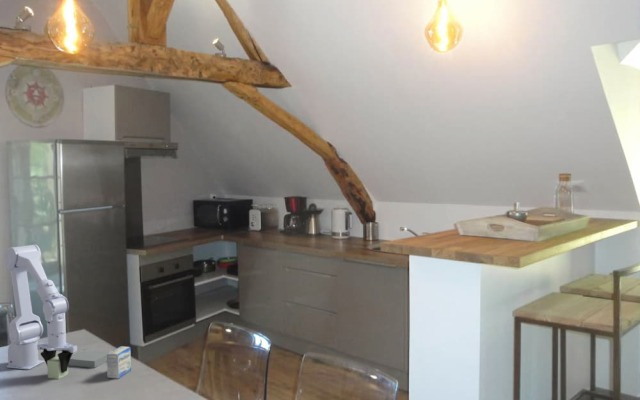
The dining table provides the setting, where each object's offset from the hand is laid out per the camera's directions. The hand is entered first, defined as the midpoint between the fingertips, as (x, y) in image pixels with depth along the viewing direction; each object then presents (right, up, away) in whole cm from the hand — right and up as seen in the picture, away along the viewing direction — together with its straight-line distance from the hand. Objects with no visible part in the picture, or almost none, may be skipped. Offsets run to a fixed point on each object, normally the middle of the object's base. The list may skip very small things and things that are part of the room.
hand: (57, 370), depth 181 cm
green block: (0, -2, 0) cm, 2 cm away
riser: (+5, -1, +13) cm, 14 cm away
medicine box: (+21, -2, +2) cm, 21 cm away
